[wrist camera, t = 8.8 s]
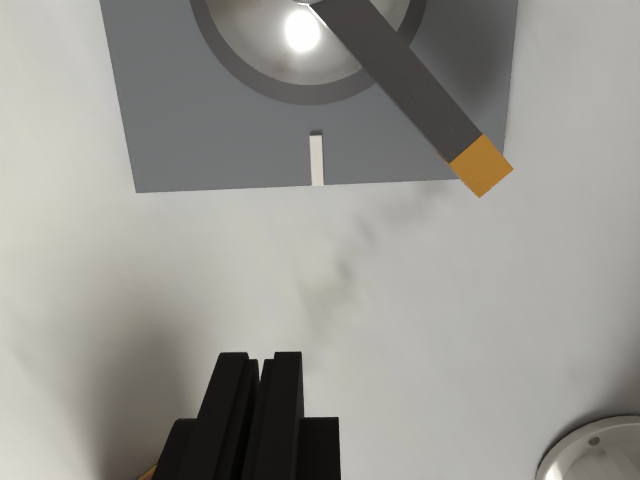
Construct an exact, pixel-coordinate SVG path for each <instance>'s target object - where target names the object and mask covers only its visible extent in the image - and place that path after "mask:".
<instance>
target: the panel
mask: <svg viewBox="0 0 640 480" xmlns="http://www.w3.org/2000/svg"><path fill="white" fill-rule="evenodd" d="M100 5H101V10H102V15H103V21H104V26H105V31H106V37H107V42H108V47H109V52H110V58H111V63H112V68H113V74H114V79H115V84H116V89H117V95H118V100H119V105H120V110H121V116H122V121H123V126H124V132H125V137H126V142H127V147H128V153H129V158H130V163H131V169H132V174H133V179H134V184H135V190H136V193H150V192H173V191H196V190H219V189H242V188H265V187H288V186H311V185H312V187H313V186H324V185H334V184H357V183H380V182H403V181H426V180H449V179H460V178H459V177H458V176H457V175H456V174H455V173H454V172H453V171H452V169H451V168H450V167H449V166H448V165H447V164H446V163H445V162H444V161H443V159H442V158H441V157H440V156H439V155H438V154H437V151H436V150H435V149H434V148H433V147H432V146H431V144H430V143H429V142H428V141H427V140H426V139H425V138H424V137H423V135H422V134H421V133H420V132H419V131H418V130H417V129H416V128H415V127H414V125H413V124H412V123H411V122H410V121H409V120H408V119H407V118H406V116H405V115H404V114H403V113H402V112H401V111H400V110H399V109H398V107H397V106H396V105H395V104H394V103H393V102H392V101H391V100H390V98H389V97H388V96H387V95H386V94H385V93H384V92H383V91H382V90H381V88H380V87H379V86H378V85H377V84H376V83H375V82H374V81H373V79H372V78H371V77H370V76H369V75H368V74H367V73H366V72H365V70H364V69H363V68H362V69H361V70H359V71H358V72H356V73H354V74H352V75H350V76H348V77H346V78H343V79H340V80H337V81H334V82H330V83H325V84H318V85H300V84H292V83H287V82H283V81H280V80H277V79H274V78H271V77H269V76H267V75H265V74H263V73H261V72H259V71H257V70H256V69H254V68H253V67H252V66H250V65H249V64H247V63H246V62H245V61H244V60H243V59H241V58H240V57H239V56H238V55H237V54H236V53H235V52H234V51H233V50H232V48H231V47H230V46H229V45H228V44H227V43H226V41H225V40H224V38H223V37H222V35H221V34H220V32H219V31H218V29H217V27H216V25H215V23H214V21H213V19H212V17H211V15H210V12H209V9H208V7H207V4H206V1H205V0H100ZM517 5H518V0H410V2H409V6H408V8H407V11H406V14H405V16H404V19H403V21H402V23H401V25H400V27H399V29H398V31H397V33H398V35H399V36H400V37H401V38H402V39H403V41H404V42H405V43H406V44H407V45H408V46H409V48H410V49H411V50H412V51H413V52H414V54H415V55H416V56H417V57H418V58H419V59H420V61H421V62H422V63H423V64H424V65H425V67H426V68H427V69H428V70H429V71H430V73H431V74H432V75H433V76H434V77H435V78H436V80H437V81H438V82H439V83H440V84H441V86H442V87H443V88H444V89H445V90H446V91H447V93H448V94H449V95H450V96H451V97H452V99H453V100H454V101H455V102H456V103H457V104H458V106H459V107H460V108H461V109H462V110H463V112H464V113H465V114H466V115H467V116H468V117H469V119H470V120H471V121H472V122H473V123H474V125H475V126H476V127H477V128H478V129H479V130H480V132H482V133H484V134H485V136H486V137H487V138H488V139H489V140H490V142H491V143H492V144H493V145H494V146H495V148H496V149H497V150H498V151H499V152H500V153H501V155H502V156H503V149H504V139H505V129H506V118H507V108H508V98H509V88H510V77H511V67H512V57H513V46H514V36H515V26H516V15H517Z"/></svg>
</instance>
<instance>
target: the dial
mask: <svg viewBox="0 0 640 480" xmlns="http://www.w3.org/2000/svg"><path fill="white" fill-rule="evenodd" d="M205 1H206V4H207V7H208V9H209V12H210V15H211V17H212V19H213V21H214V23H215V25H216V27H217V29H218V31H219V32H220V34H221V35H222V37H223V38H224V40H225V41H226V43H227V44H228V45H229V46H230V47H231V48H232V50H233V51H234V52H235V53H236V54H237V55H238V56H239V57H240V58H241V59H243V60H244V61H245V62H246V63H247V64H249V65H250V66H252V67H253V68H254V69H256V70H257V71H259V72H261V73H263V74H265V75H267V76H269V77H271V78H274V79H277V80H280V81H283V82H287V83H292V84H300V85H318V84H325V83H330V82H334V81H337V80H340V79H343V78H346V77H348V76H350V75H352V74H354V73H356V72H358V71H359V70H361V69H362V68H363V69H364V70H365V72H366V73H367V74H368V75H369V76H370V77H371V78H372V79H373V81H374V82H375V83H376V84H377V85H378V86H379V87H380V88H381V90H382V91H383V92H384V93H385V94H386V95H387V96H388V97H389V98H390V100H391V101H392V102H393V103H394V104H395V105H396V106H397V107H398V109H399V110H400V111H401V112H402V113H403V114H404V115H405V116H406V118H407V119H408V120H409V121H410V122H411V123H412V124H413V125H414V127H415V128H416V129H417V130H418V131H419V132H420V133H421V134H422V135H423V137H424V138H425V139H426V140H427V141H428V142H429V143H430V144H431V146H432V147H433V148H434V149H435V150H436V151H437V154H438V155H439V156H440V157H441V158H442V159H443V161H444V162H445V163H446V164H447V165H448V166H449V167H450V168H451V169H452V171H453V172H454V173H455V174H456V175H457V176H458V177H459V178H460V180H461V181H462V182H463V183H464V184H465V185H466V186H467V187H468V188H469V189H470V190H471V191H472V192H473V193H474V194H475V195H476V196H478V197H479V198H480V197H481V196H482V195H484V194H485V193H486V192H487V191H488V190H490V189H491V188H492V187H493V186H494V185H495V184H497V183H498V182H499V181H500V180H501V179H503V178H504V177H505V176H506V175H507V174H509V173H510V172H511V171H512V170H513V168H512V166H511V165H510V164H509V163H508V162H507V161H506V159H505V158H504V157H503V156H502V155H501V153H500V152H499V151H498V150H497V149H496V148H495V146H494V145H493V144H492V143H491V142H490V140H489V139H488V138H487V137H486V136H485V134H484V133H482V132H480V130H479V129H478V128H477V127H476V126H475V125H474V123H473V122H472V121H471V120H470V119H469V117H468V116H467V115H466V114H465V113H464V112H463V110H462V109H461V108H460V107H459V106H458V104H457V103H456V102H455V101H454V100H453V99H452V97H451V96H450V95H449V94H448V93H447V91H446V90H445V89H444V88H443V87H442V86H441V84H440V83H439V82H438V81H437V80H436V78H435V77H434V76H433V75H432V74H431V73H430V71H429V70H428V69H427V68H426V67H425V65H424V64H423V63H422V62H421V61H420V59H419V58H418V57H417V56H416V55H415V54H414V52H413V51H412V50H411V49H410V48H409V46H408V45H407V44H406V43H405V42H404V41H403V39H402V38H401V37H400V36H399V35H398V33H397V31H398V29H399V27H400V25H401V23H402V21H403V19H404V16H405V14H406V11H407V8H408V6H409V2H410V0H205Z"/></svg>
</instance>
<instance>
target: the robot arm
mask: <svg viewBox="0 0 640 480" xmlns="http://www.w3.org/2000/svg"><path fill="white" fill-rule="evenodd" d="M151 480H341V469H340V442H339V418H338V417H304V397H303V371H302V353H301V352H275V354H274V359H265V360H264V365H263V370H262V375H261V380H259V366H258V360H257V359H249V356H248V353H247V352H224V353H220V354H219V356H218V359H217V362H216V365H215V368H214V371H213V374H212V376H211V379H210V382H209V385H208V388H207V391H206V394H205V396H204V399H203V402H202V405H201V408H200V411H199V413H198V416H197V418H195V419H178V420H176V421H175V423H174V425H173V427H172V429H171V431H170V434H169V436H168V439H167V441H166V444H165V446H164V449H163V451H162V454H161V456H160V458H159V461H158V463H157V466H156V468H155V471H154V473H153V476H152V478H151ZM536 480H640V416H617V417H612V418H606V419H602V420H599V421H596V422H593V423H590V424H587V425H585V426H583V427H581V428H579V429H577V430H575V431H573V432H572V433H570V434H569V435H567V436H566V437H564V438H563V439H562V440H560V441H559V442H558V443H557V444H556V445H555V446H554V447H553V448H552V449H551V450H550V451H549V453H548V454H547V455H546V457H545V458H544V459H543V461H542V463H541V465H540V467H539V469H538V471H537V476H536Z"/></svg>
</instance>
